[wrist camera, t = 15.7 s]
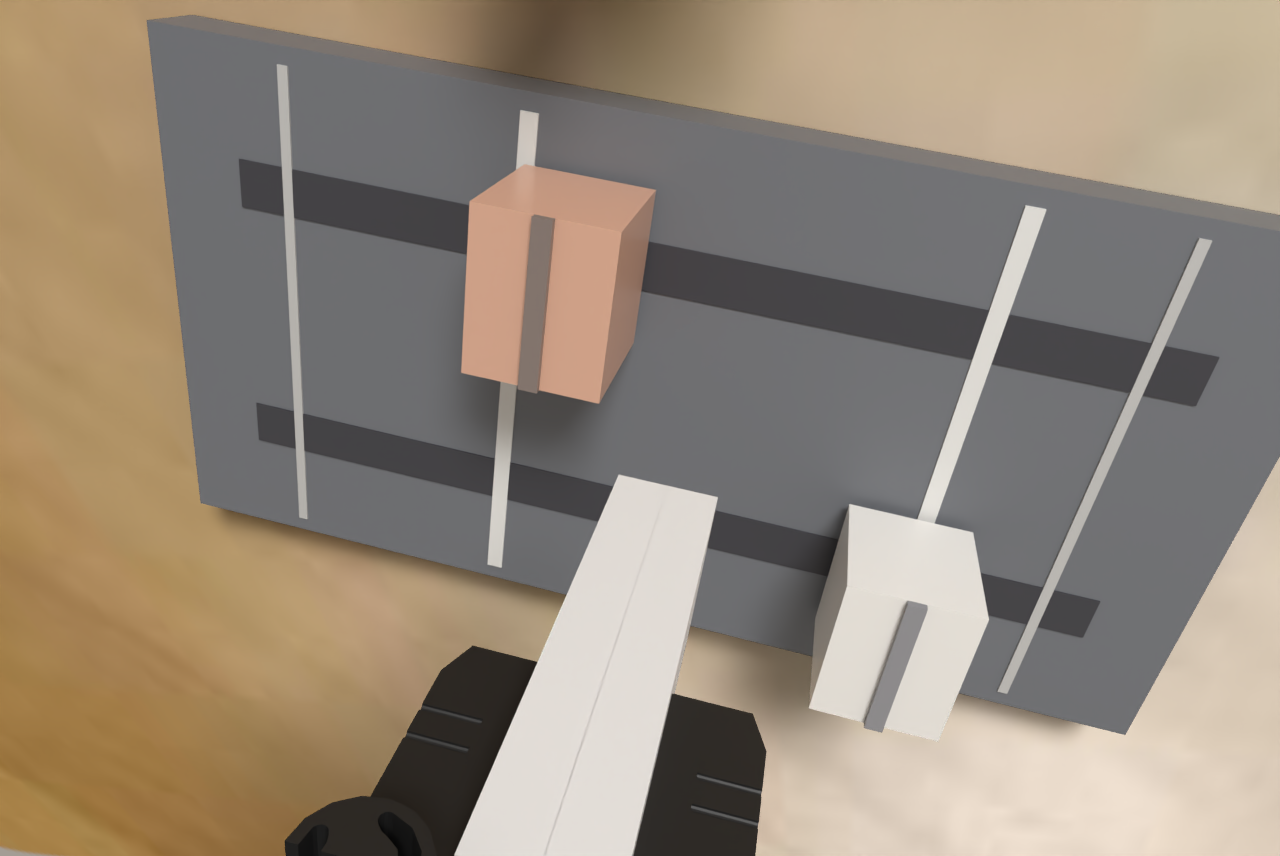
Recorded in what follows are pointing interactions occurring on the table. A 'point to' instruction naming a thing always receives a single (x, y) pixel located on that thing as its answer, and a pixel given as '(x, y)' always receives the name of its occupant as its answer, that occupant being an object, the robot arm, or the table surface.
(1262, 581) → the table surface
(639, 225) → the fader
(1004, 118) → the table surface
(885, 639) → the block
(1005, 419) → the console
